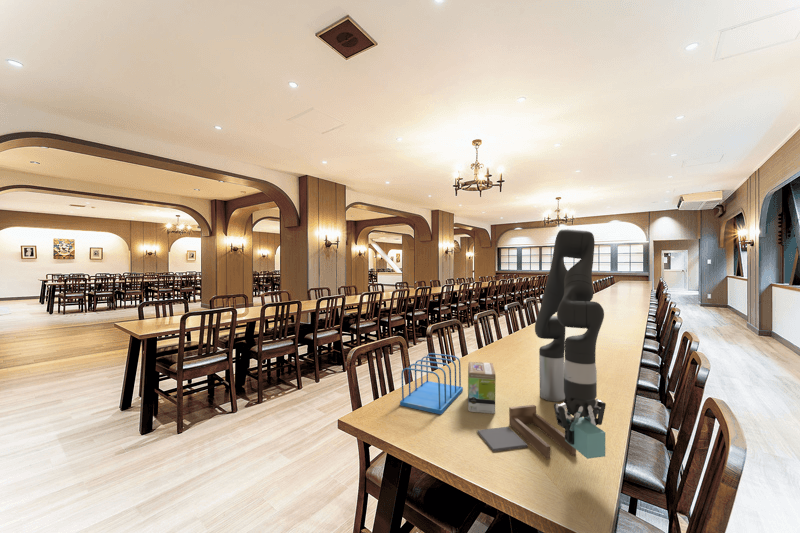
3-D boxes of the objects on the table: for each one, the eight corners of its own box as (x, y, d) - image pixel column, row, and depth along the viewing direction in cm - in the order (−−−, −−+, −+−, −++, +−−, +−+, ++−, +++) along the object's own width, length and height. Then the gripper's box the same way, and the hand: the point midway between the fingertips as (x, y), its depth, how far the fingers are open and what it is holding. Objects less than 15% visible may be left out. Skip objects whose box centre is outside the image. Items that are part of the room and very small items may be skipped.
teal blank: (581, 438, 88) (581, 416, 88) (605, 456, 80) (605, 432, 80) (565, 440, 87) (565, 418, 87) (587, 458, 79) (587, 434, 79)
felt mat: (508, 428, 108) (508, 426, 108) (527, 447, 97) (527, 444, 97) (477, 432, 106) (477, 430, 106) (493, 451, 95) (493, 448, 95)
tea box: (496, 414, 119) (495, 374, 119) (468, 412, 121) (467, 372, 121) (493, 397, 133) (492, 361, 133) (468, 396, 135) (467, 360, 135)
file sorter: (426, 384, 149) (426, 351, 149) (463, 391, 140) (462, 356, 140) (399, 405, 127) (399, 366, 127) (441, 415, 118) (440, 373, 118)
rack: (534, 421, 113) (534, 404, 113) (576, 455, 93) (575, 434, 93) (509, 424, 111) (509, 407, 111) (546, 459, 91) (546, 437, 91)
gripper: (565, 385, 80) (565, 453, 80) (615, 380, 82) (615, 446, 83) (546, 374, 87) (546, 437, 87) (592, 370, 90) (592, 431, 90)
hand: (579, 441), depth 85 cm, fingers closed on teal blank, 5 cm apart
